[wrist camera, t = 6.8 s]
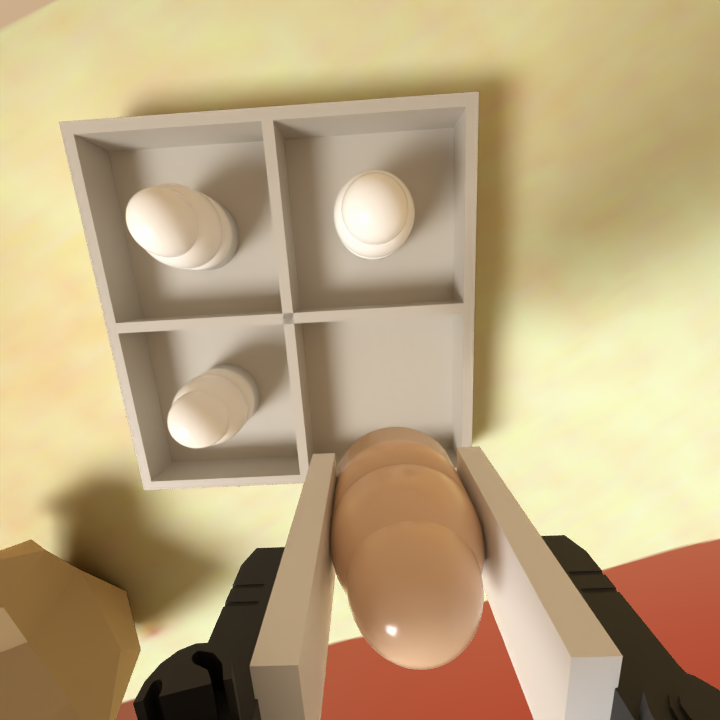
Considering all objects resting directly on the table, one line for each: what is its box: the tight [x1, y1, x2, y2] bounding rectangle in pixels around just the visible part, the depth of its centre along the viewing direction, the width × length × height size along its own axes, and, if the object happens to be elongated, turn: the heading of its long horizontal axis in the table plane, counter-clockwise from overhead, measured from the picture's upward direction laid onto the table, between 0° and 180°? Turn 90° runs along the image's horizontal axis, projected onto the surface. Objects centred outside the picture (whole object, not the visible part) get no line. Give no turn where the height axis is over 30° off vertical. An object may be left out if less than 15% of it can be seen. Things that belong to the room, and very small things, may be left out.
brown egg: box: [330, 427, 485, 669], centre depth 9 cm, size 4×4×6 cm
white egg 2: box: [167, 364, 260, 448], centre depth 20 cm, size 4×4×6 cm
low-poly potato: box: [0, 540, 141, 720], centre depth 23 cm, size 15×11×12 cm
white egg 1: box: [126, 183, 239, 270], centre depth 18 cm, size 4×4×6 cm
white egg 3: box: [333, 169, 415, 260], centre depth 17 cm, size 4×4×6 cm
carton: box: [59, 91, 479, 490], centre depth 21 cm, size 21×21×3 cm
